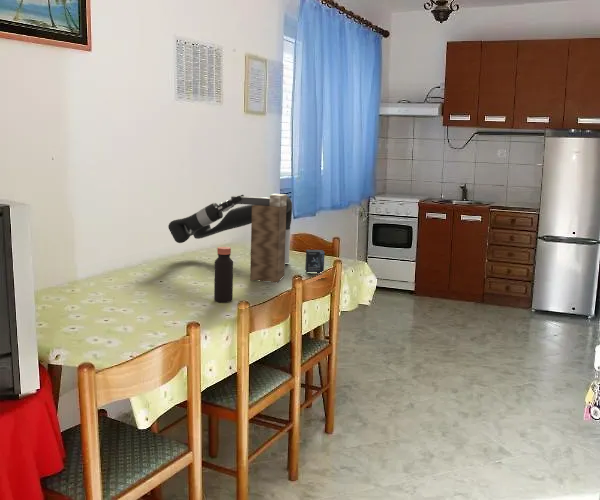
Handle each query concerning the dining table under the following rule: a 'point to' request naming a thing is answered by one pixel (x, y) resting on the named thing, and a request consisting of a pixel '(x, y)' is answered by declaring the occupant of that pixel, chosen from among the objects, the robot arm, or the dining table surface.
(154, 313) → the dining table surface
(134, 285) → the dining table surface
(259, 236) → the stand
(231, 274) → the bottle
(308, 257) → the box
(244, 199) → the dark grey matte block
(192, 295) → the dining table surface
